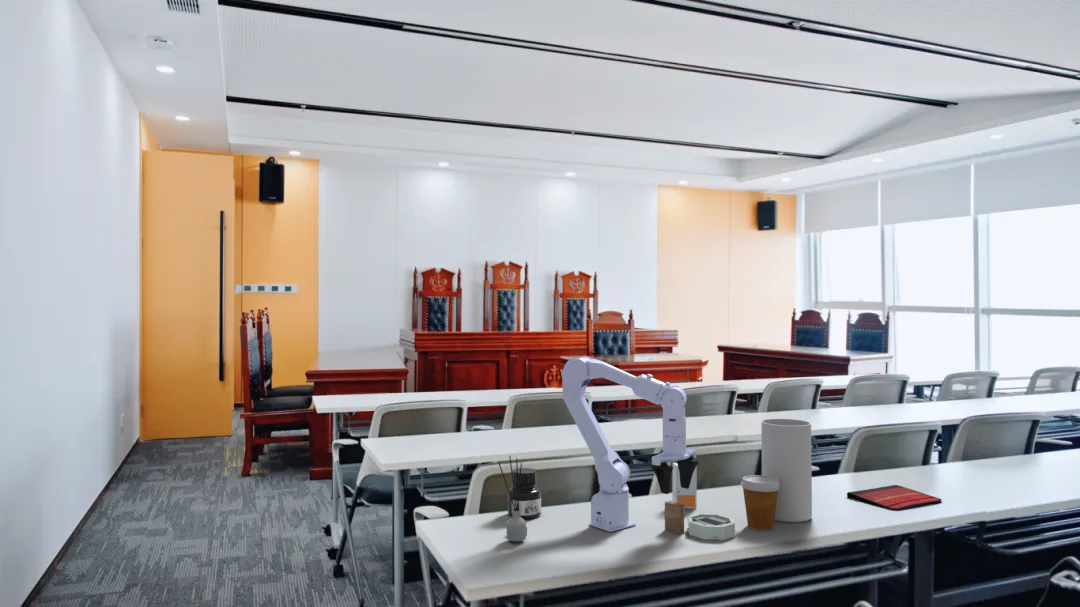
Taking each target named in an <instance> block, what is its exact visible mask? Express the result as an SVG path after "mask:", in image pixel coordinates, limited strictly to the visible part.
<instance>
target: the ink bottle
mask: <svg viewBox="0 0 1080 607" xmlns="http://www.w3.org/2000/svg"><path fill="white" fill-rule="evenodd" d="M537 471H538V470H537V469H535V468H532V467H522V468H521V480H520V491H519V509H520V517H521V518H522V519H523V520H528V519H527V518H531V519H535V518H534V517H536V518H539V517H540V516H541V515H542V497H541V495H542V494H541V490H540V488H538V486H537V483H538V481H537V480H538V474H537ZM512 473H513V481H514V489H515V497H516V505H517V501H518V497H517V467H515V468H514V469H513V468H512ZM519 478H520V468H519V467H518V490H519ZM511 485H512V486H511V487H510V488H508V489H509V491H510V494H511V497H512V500H513V503H514V506H515V498H514V490H513V482H512V481H511ZM512 500H511V498H510V495H509V492H508V491H507V515H508V516H509V517H510V516H511V517H510V518H512V515H513V509H514V506H513V503H512ZM515 509H516V506H515ZM538 516H539V517H538Z"/></svg>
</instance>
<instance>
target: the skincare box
mask: <svg viewBox="0 0 1080 607" xmlns="http://www.w3.org/2000/svg"><path fill="white" fill-rule="evenodd" d="M672 467H673V470H672V496H671V498H672V500H671V501H674V502H677V503H681V504H684V509H695V510H696V509H698V508H697V504H698V502H697V495H698V494H697V488H698V487H697V484H698V483H697V482H698V481H697V480H698V478H697V477H698V475H697V474H698V473H697V472H698V468H697V467H698V465H697V466H696V468H695V470H694V472H693V475H692V478H691V482H690V486H689V489H686V488H682V487H681V484H680V473H679V468H678V464H677V462H672Z"/></svg>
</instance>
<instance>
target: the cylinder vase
mask: <svg viewBox="0 0 1080 607" xmlns="http://www.w3.org/2000/svg"><path fill="white" fill-rule="evenodd" d="M812 464H813V463H812V422H810V421H807V420H803V419H793V418H766V419H762V420H761V475H762V476H769V477H774V478H776V479H778V482H779V484H780V487H779V490H778V496H777V504H776V512H775V521H776V522H780V523H781V522H782V523H783V522H784V523H802V522H803V523H805V522H807V521H809V520H811V519H812V517H813V505H812V504H813V495H812V494H813V492H812V488H813V486H812V485H813V484H812V480H813V479H812V478H813V477H812V475H813V474H812V473H813V472H812V468H813V467H812Z"/></svg>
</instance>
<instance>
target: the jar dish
mask: <svg viewBox="0 0 1080 607" xmlns="http://www.w3.org/2000/svg"><path fill="white" fill-rule="evenodd" d="M686 530H687V532H688V535H689V536H692V537H695V538H698V539H701V540H704V541H705V540H706V541H707V540H708V541H709V540H710V541H725V540H729V539H732V538H735V537H736V523H735V521H734V519H733V517H730V516H726V515H722V514H719V513H705V512H704V513H702V512H701V513H695V514H693V515H692V514H691V515H688V516H687V528H686Z"/></svg>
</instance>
